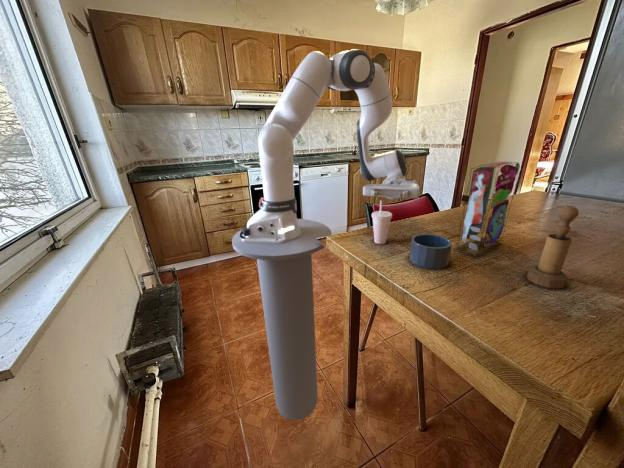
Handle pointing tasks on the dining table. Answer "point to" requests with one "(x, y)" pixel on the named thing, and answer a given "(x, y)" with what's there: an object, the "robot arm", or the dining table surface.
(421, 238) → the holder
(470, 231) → the box
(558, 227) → the mortar and pestle
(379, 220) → the smoothie
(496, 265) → the dining table surface
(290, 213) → the robot arm
